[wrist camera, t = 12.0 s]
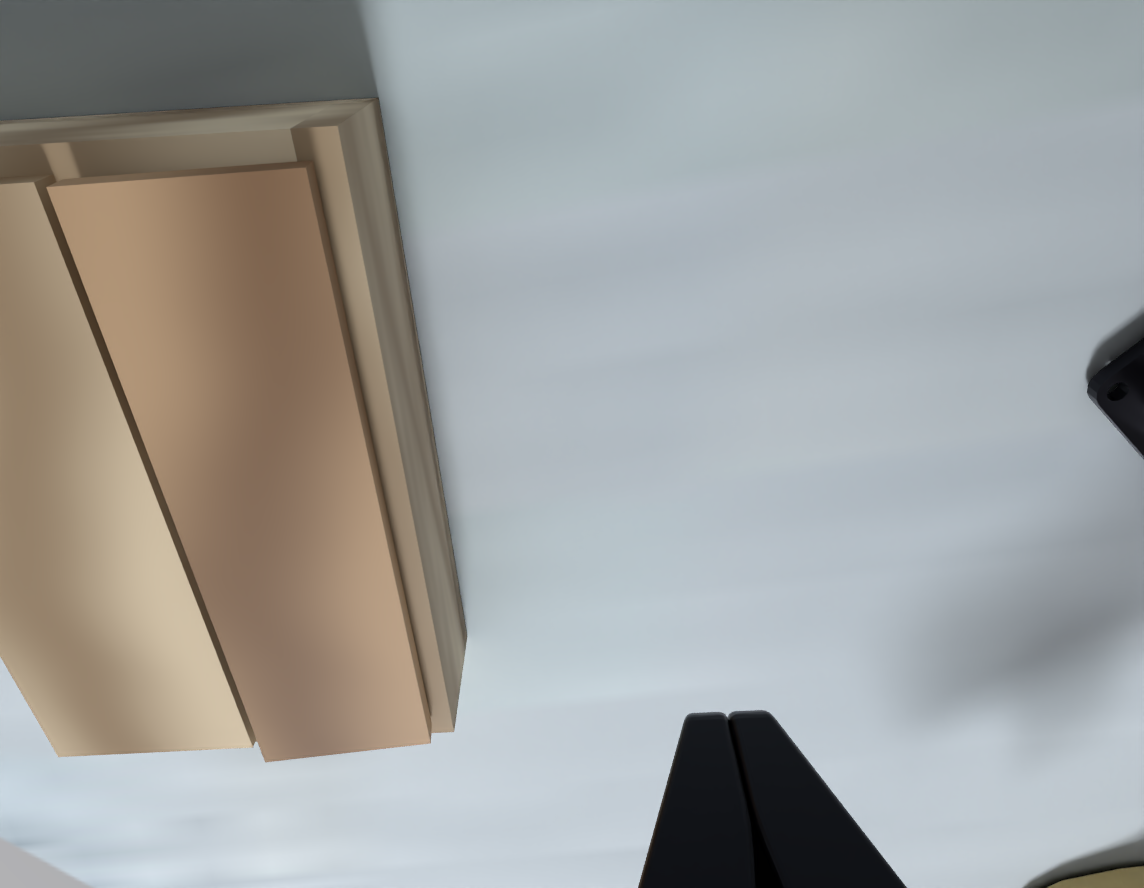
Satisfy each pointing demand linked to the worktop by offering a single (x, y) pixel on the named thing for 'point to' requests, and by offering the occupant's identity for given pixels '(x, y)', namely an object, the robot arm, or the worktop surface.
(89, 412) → the plywood box
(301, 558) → the flap
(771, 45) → the worktop surface
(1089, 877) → the toy
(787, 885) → the robot arm
